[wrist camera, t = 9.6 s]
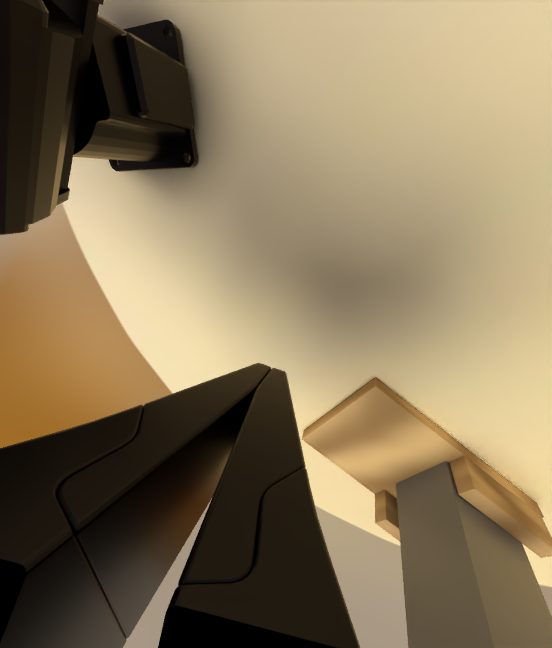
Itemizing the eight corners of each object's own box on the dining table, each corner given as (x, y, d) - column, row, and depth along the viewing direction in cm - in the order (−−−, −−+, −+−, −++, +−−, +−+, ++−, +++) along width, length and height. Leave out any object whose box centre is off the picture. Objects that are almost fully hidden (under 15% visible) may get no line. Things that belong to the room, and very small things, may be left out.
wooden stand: (304, 430, 25) (283, 507, 19) (375, 377, 20) (376, 458, 14) (437, 531, 26) (457, 634, 20) (537, 503, 21) (600, 629, 15)
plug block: (395, 483, 23) (413, 716, 13) (445, 460, 21) (515, 730, 11) (450, 523, 24) (508, 781, 13) (506, 506, 21) (631, 812, 11)
